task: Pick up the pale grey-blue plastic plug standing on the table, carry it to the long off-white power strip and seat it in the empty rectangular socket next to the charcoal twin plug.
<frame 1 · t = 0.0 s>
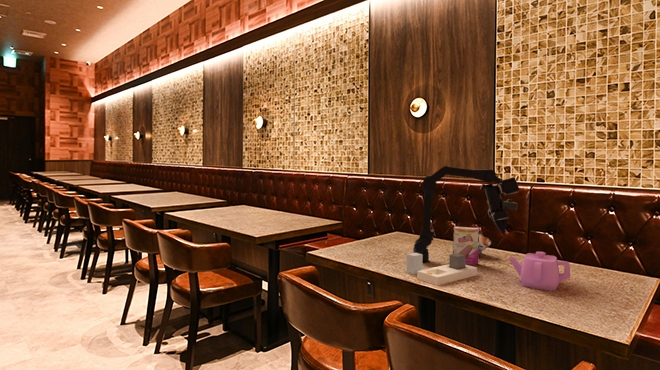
hand: (502, 232, 176), 15 cm above the table, tool pointing down, fingers open, 9 cm apart
candy bar box: (465, 264, 182), on the table
teakettle: (538, 284, 154), on the table
twin plug: (457, 274, 163), resting on power strip
lucky cat figurine: (472, 254, 202), on the table
power strip: (447, 278, 160), on the table
plug: (414, 273, 166), on the table
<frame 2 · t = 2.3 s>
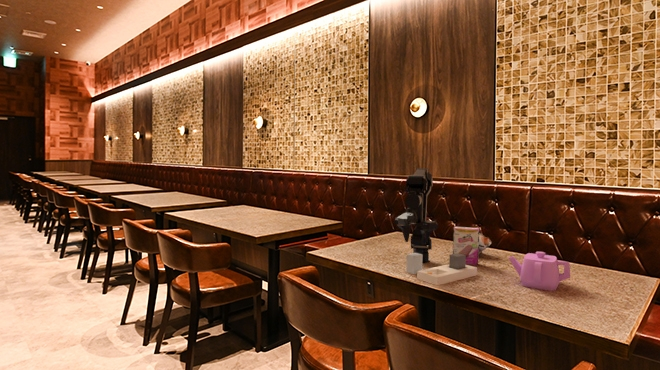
hand: (415, 243, 165), 12 cm above the table, tool pointing down, fingers open, 9 cm apart
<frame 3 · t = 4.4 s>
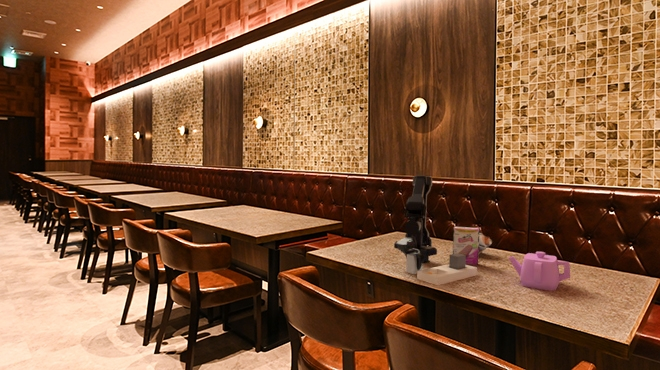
hand: (414, 268, 166), 2 cm above the table, tool pointing down, fingers closed on plug, 4 cm apart
plug: (414, 273, 166), on the table, touching gripper
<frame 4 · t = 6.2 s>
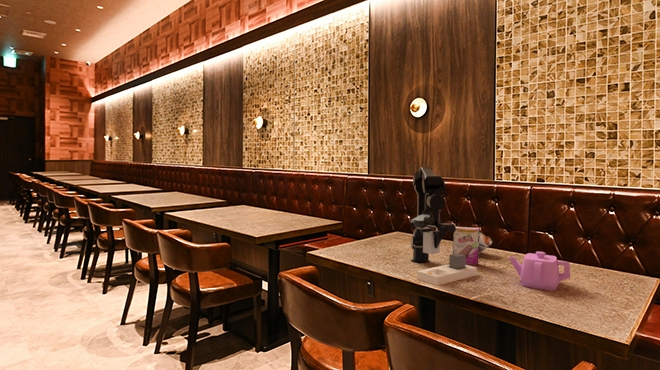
hand: (431, 247, 158), 13 cm above the table, tool pointing down, fingers closed on plug, 4 cm apart
plug: (431, 252, 158), point 10 cm above the table, touching gripper
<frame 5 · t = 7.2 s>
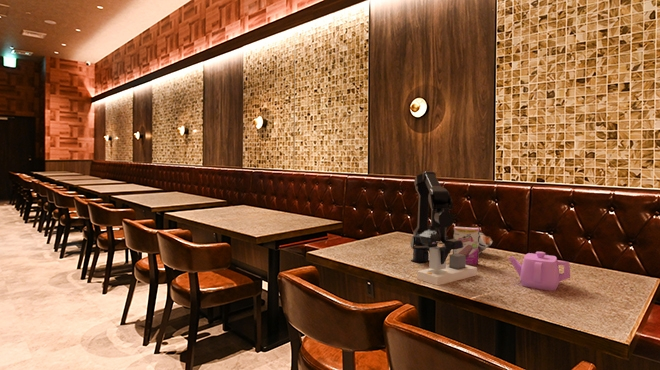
hand: (437, 262, 156), 7 cm above the table, tool pointing down, fingers closed on plug, 4 cm apart
plug: (437, 268, 156), point 5 cm above the table, touching gripper
when the fingers open (4 cm above the table, at t = 8.1 s): plug drops 2 cm, resting on power strip.
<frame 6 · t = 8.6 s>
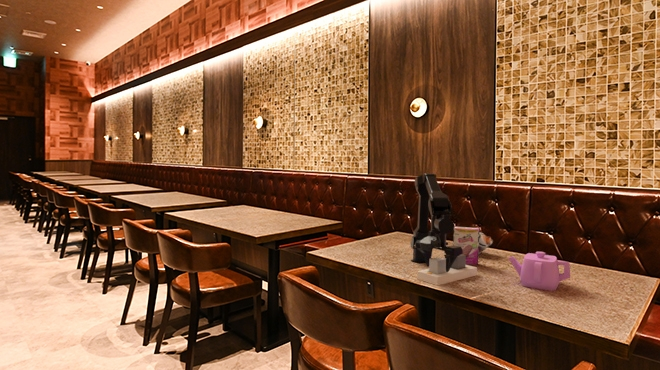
hand: (437, 269, 156), 4 cm above the table, tool pointing down, fingers open, 9 cm apart
plug: (437, 279, 156), resting on power strip
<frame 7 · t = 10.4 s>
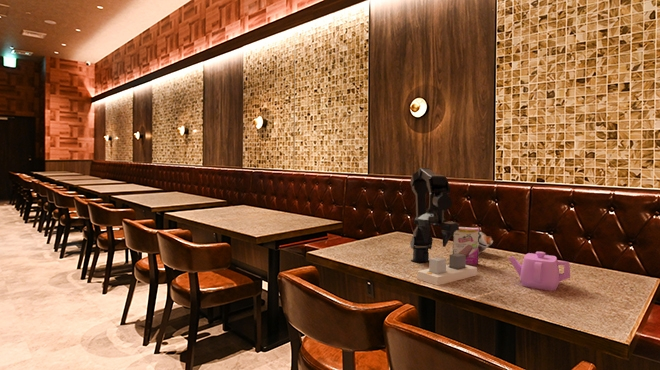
hand: (435, 244, 164), 12 cm above the table, tool pointing down, fingers open, 9 cm apart
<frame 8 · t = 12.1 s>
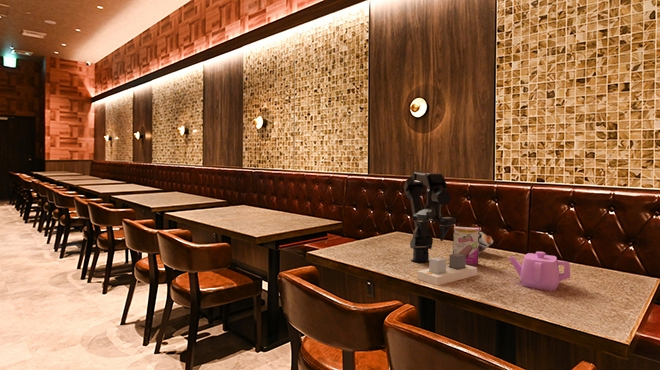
hand: (432, 239, 172), 13 cm above the table, tool pointing down, fingers open, 9 cm apart
at the end: plug 0.1 cm from the target spot on the power strip, point 0.5 cm above the power strip's base; plug tilted 0°; the gripper is holding nothing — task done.
